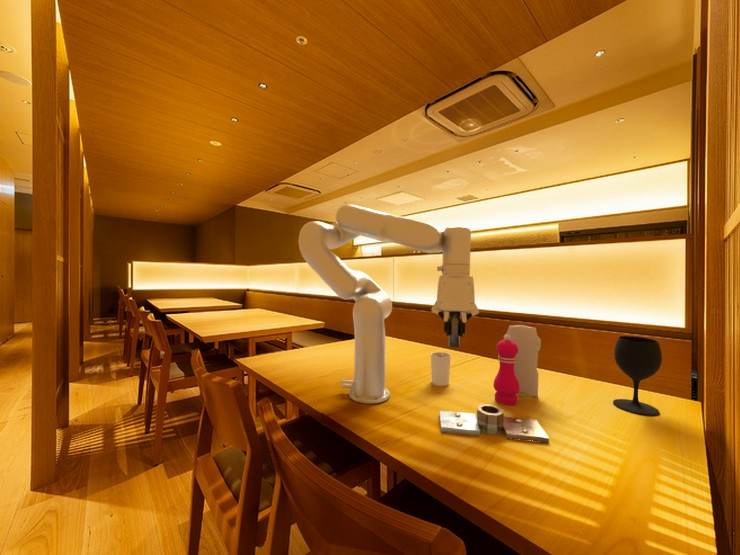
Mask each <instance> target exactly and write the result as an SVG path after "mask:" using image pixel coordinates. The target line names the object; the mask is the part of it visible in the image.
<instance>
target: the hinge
mask: <svg viewBox="0 0 740 555" xmlns="http://www.w3.org/2000/svg"><path fill="white" fill-rule="evenodd" d="M439 422H440V423H439V424H440V433H449V434H456V435H457V434H459V435H468V436H476V437H477V436H478V437H480V436H481V432H482V433H485V434H489V435H500V434H502V433H505V434H504V435H506V436H505V438H506V437H507V438H512V439H511V440H514V439H520V440H519V441H524V440H531V441H530V442H533V441H540V442H539V443H542V442H547V443H546V444H550V438H549V436H548V434H547V433H546V432H545V430H544V429H543V427H542V426H541V424H539V422H538V421H537V419H534V418H525V417H514V416H505V412H504V410H503V409H502V408H501V407H499V406H496V405H494V404H487V403H482V404H479V405H477V406H476V414H475V413H472V412H471V413H469V412H461V411H449V410H439ZM507 438H506V439H507ZM532 440H533V441H532Z"/></svg>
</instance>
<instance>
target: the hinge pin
mask: <svg viewBox="0 0 740 555" xmlns="http://www.w3.org/2000/svg"><path fill="white" fill-rule="evenodd" d="M448 319H449V322H450V332H449V336H448V347H449V348H456V349H457V348H460V339H461V337H460V319H461V312H455V311H449V316H448Z"/></svg>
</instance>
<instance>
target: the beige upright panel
mask: <svg viewBox="0 0 740 555" xmlns="http://www.w3.org/2000/svg"><path fill="white" fill-rule="evenodd" d="M505 335H509V336H510V337H511V339H510V340H511V341H513V342H515V343H516V344H517V346H518V353H517V355H516V356H515V357H516V362H515V363H514V372H515V376H516V378H517V380H518V382H519V388H520V390H519V392H518V393H517V394H516V396H522V397H530V396H531V397H532V398H538V397H539V372H538V364H539V363H538V361H539V359H538V357H539V351H540V350H541V347H542V346H541V345H542V343H541V342H542V338H540V337H539V336H538V332H537V328H536V327H531V326H528V325H525V324H524V325H523V324H518V325H509V326H508V329H507V331H506V333H505V334H503V340H505V339H504V337H505Z"/></svg>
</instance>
